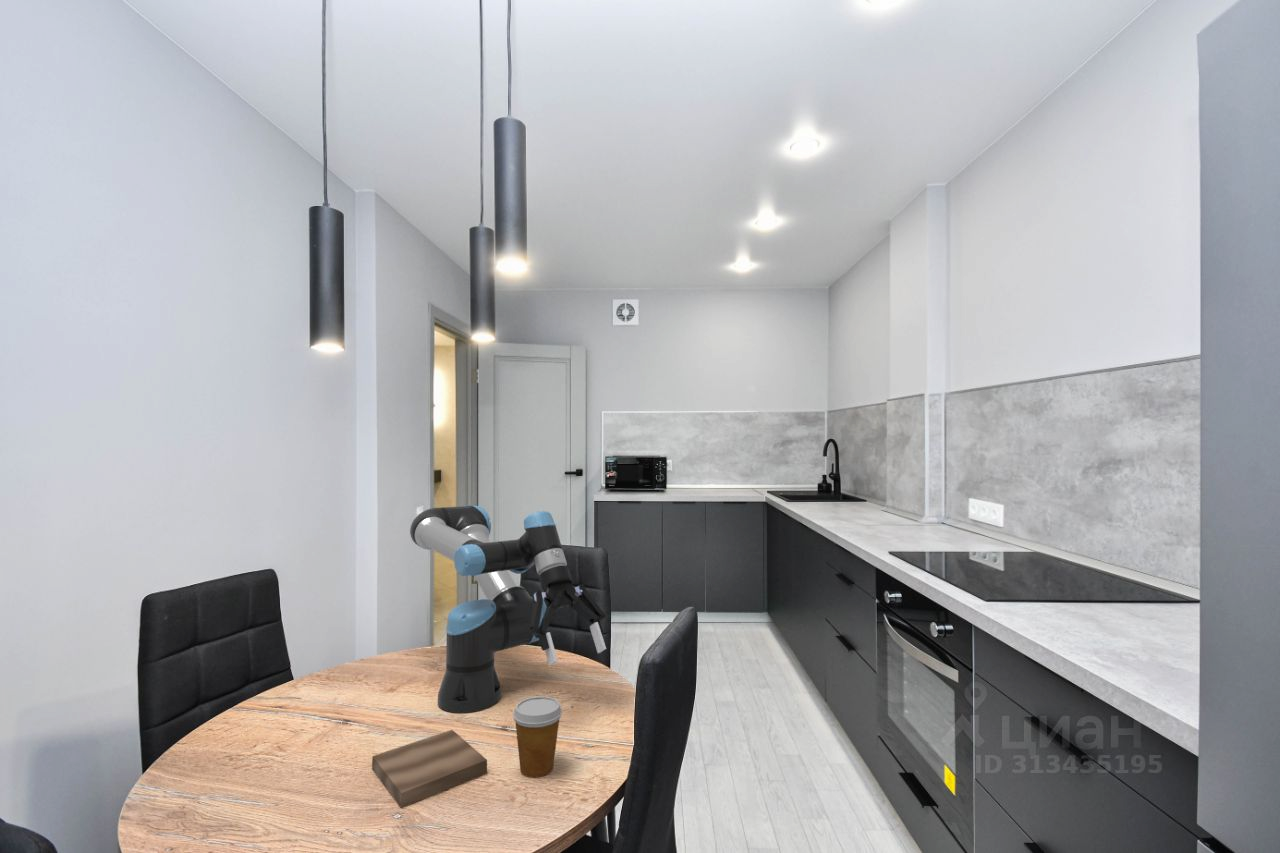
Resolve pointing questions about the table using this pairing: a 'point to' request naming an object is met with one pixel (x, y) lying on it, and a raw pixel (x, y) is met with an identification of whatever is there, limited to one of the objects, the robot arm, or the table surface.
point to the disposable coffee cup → (537, 734)
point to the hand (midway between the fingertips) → (578, 657)
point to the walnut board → (428, 767)
